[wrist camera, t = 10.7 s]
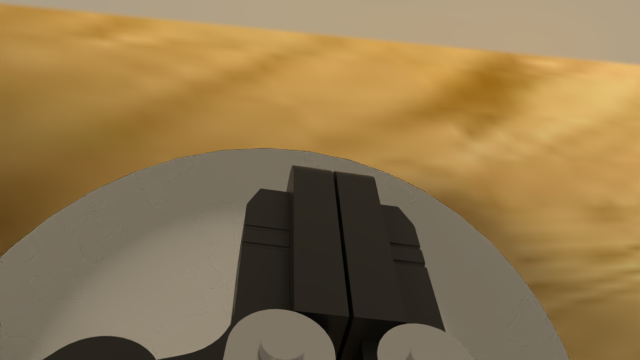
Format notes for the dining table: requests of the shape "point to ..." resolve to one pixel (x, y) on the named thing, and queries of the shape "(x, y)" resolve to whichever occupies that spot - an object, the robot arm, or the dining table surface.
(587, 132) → the dining table surface
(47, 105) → the dining table surface
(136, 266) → the lid
